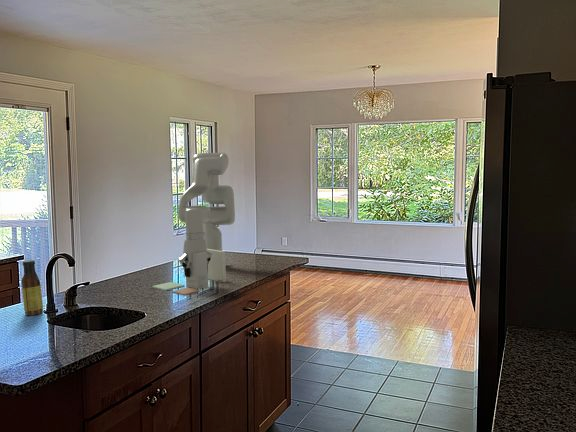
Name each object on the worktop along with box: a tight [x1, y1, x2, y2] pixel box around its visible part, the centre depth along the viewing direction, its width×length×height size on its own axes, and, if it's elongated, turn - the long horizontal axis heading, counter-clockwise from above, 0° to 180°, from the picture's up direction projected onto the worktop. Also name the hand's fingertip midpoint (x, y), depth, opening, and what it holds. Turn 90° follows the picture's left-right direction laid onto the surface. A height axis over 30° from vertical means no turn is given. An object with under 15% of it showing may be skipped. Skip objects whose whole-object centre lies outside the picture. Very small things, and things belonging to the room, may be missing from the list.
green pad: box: [151, 281, 185, 292], centre depth 234 cm, size 10×10×1 cm
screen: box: [207, 249, 228, 283], centre depth 245 cm, size 4×16×14 cm, turn 48°
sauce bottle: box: [21, 259, 44, 316], centre depth 195 cm, size 6×6×20 cm
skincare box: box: [185, 252, 209, 290], centre depth 232 cm, size 8×7×16 cm
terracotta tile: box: [172, 287, 200, 296], centre depth 223 cm, size 8×8×1 cm
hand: (196, 274), depth 232 cm, fingers open, 9 cm apart
